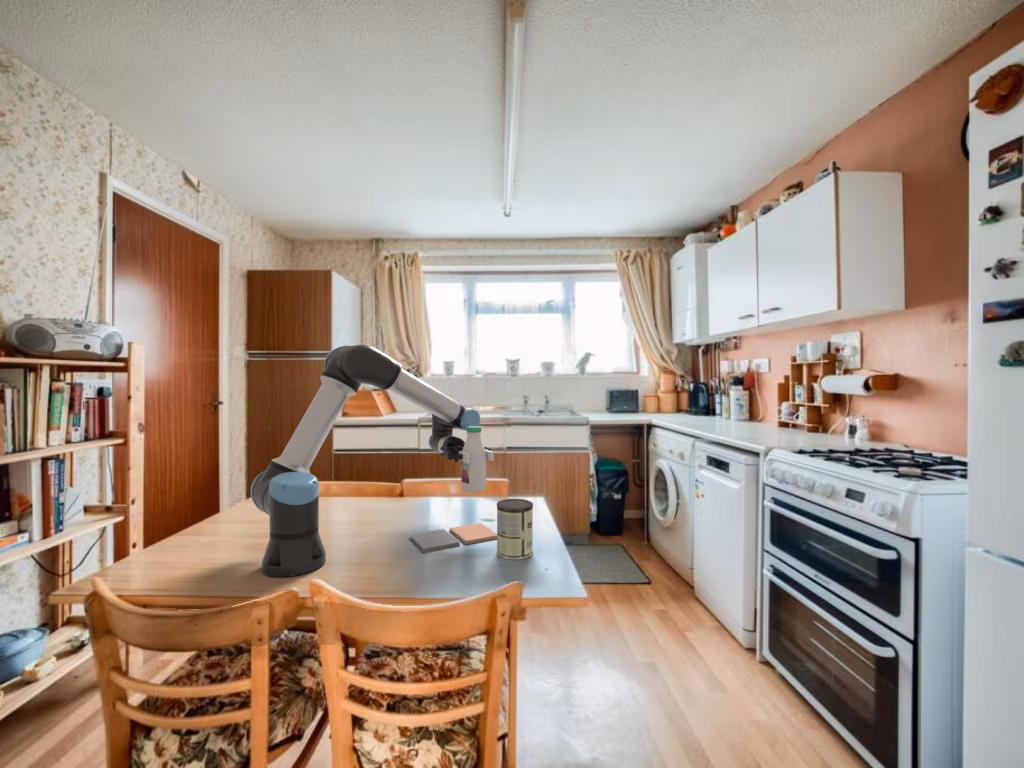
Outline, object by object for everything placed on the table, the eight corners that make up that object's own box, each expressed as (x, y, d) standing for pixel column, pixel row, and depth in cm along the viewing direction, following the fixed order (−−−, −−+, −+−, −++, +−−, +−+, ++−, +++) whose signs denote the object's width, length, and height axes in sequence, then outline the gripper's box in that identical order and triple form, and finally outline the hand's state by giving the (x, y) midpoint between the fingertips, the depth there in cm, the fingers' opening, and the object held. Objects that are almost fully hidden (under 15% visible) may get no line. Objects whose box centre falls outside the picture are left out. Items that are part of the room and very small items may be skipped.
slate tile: (423, 552, 130) (423, 548, 130) (410, 537, 141) (410, 534, 141) (459, 545, 135) (459, 542, 135) (443, 532, 146) (443, 529, 146)
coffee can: (498, 545, 135) (499, 497, 135) (533, 546, 134) (534, 499, 134) (494, 559, 125) (494, 507, 125) (531, 561, 124) (532, 509, 124)
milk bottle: (486, 486, 148) (486, 425, 148) (485, 493, 141) (485, 428, 140) (462, 487, 148) (462, 425, 148) (460, 493, 140) (460, 427, 140)
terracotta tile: (465, 544, 136) (465, 540, 136) (449, 531, 147) (449, 528, 147) (498, 538, 141) (498, 534, 141) (480, 525, 153) (480, 522, 153)
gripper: (478, 455, 165) (509, 466, 145) (424, 460, 155) (449, 473, 135) (478, 434, 165) (509, 443, 145) (424, 438, 155) (449, 447, 135)
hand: (480, 457), depth 140 cm, fingers closed on milk bottle, 7 cm apart
